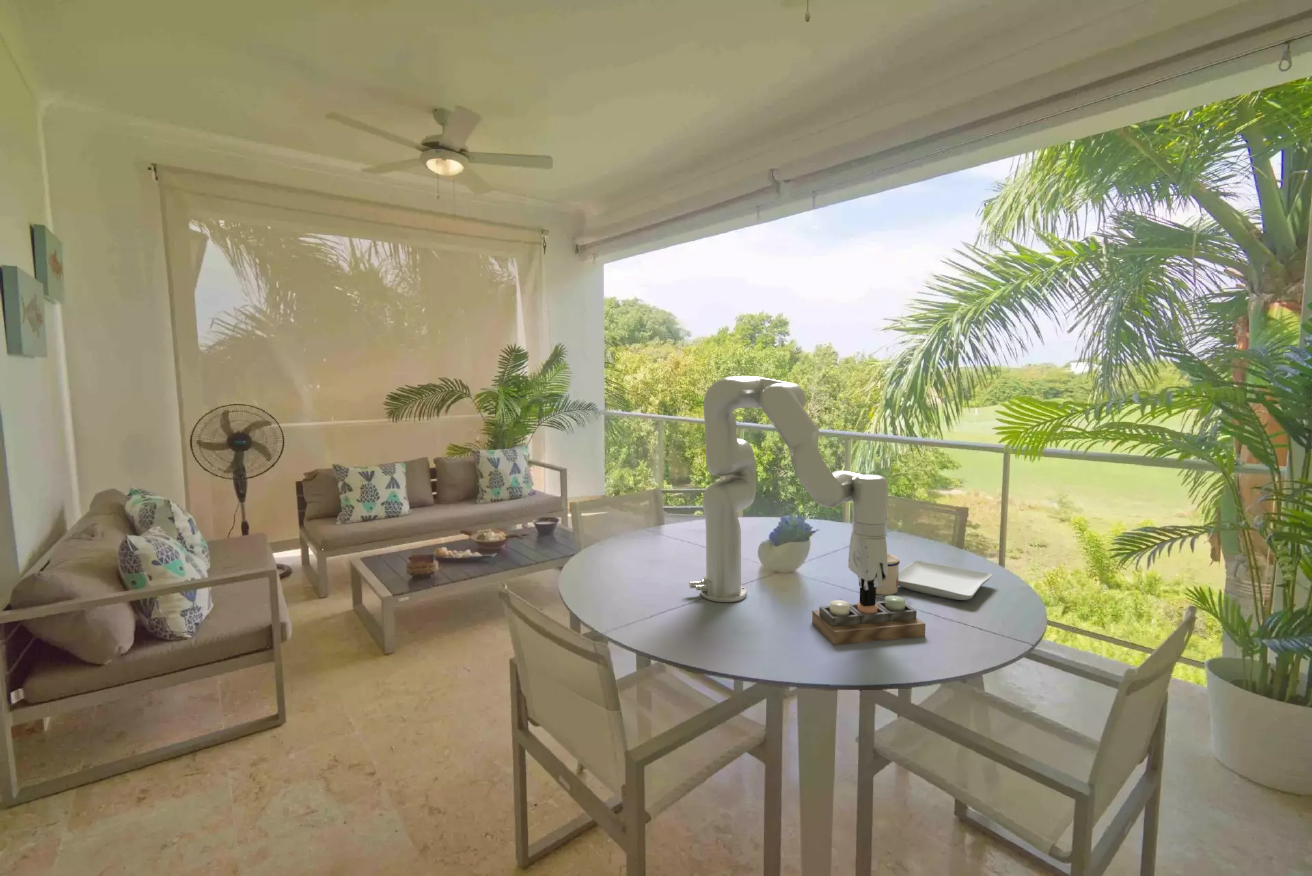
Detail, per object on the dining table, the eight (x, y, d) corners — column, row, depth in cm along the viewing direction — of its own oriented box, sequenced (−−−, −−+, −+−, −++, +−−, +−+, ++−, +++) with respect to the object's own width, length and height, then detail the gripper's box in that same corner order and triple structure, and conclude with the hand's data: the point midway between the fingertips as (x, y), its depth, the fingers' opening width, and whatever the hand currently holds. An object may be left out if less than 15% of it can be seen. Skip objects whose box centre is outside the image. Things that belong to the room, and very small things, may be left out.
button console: (834, 644, 130) (835, 623, 130) (812, 622, 142) (812, 602, 142) (925, 636, 134) (925, 615, 133) (895, 615, 146) (896, 595, 145)
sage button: (891, 613, 136) (891, 603, 136) (881, 605, 141) (881, 596, 140) (908, 611, 137) (909, 601, 137) (898, 604, 141) (898, 594, 141)
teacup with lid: (904, 595, 159) (906, 553, 157) (872, 596, 158) (873, 554, 157) (885, 579, 171) (886, 540, 169) (854, 580, 170) (855, 541, 169)
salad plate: (887, 588, 164) (888, 576, 163) (915, 569, 179) (915, 558, 179) (971, 608, 149) (971, 595, 149) (992, 585, 165) (993, 573, 164)
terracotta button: (863, 619, 135) (863, 609, 135) (853, 611, 140) (854, 601, 139) (880, 617, 136) (881, 607, 136) (871, 610, 140) (871, 600, 140)
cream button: (834, 618, 134) (835, 608, 134) (826, 610, 138) (826, 600, 138) (852, 616, 135) (853, 606, 134) (843, 609, 139) (844, 599, 139)
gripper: (839, 521, 142) (837, 594, 144) (871, 538, 128) (869, 618, 130) (867, 519, 143) (866, 591, 145) (902, 536, 129) (900, 616, 131)
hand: (867, 604), depth 137 cm, fingers closed
